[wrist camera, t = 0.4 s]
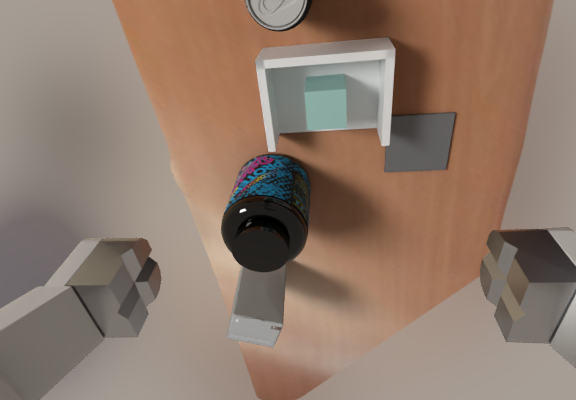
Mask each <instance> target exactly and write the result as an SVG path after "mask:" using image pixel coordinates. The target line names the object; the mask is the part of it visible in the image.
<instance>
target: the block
mask: <svg viewBox="0 0 576 400" xmlns="http://www.w3.org/2000/svg"><path fill="white" fill-rule="evenodd" d="M304 94H305V107H306V120H307V130H321V129H338V128H347V110H346V83H345V76H344V74H335V75H322V76H309V77H306V84H305V91H304Z"/></svg>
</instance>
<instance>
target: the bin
mask: <svg viewBox="0 0 576 400" xmlns="http://www.w3.org/2000/svg"><path fill="white" fill-rule="evenodd" d="M395 51H396V49H395V47H394V46H393V44H392V42H391V41H390V39H389V38H388V37H383V38H372V39H360V40H349V41H337V42H326V43H314V44H303V45H292V46H280V47H269V48H262V49H261V51H260V53H259V55H258V56H257V58H256V60H255V63H256V70H257V77H258V84H259V90H260V97H261V104H262V111H263V118H264V124H265V131H266V138H267V145H268V152H274V151H276V148H277V144H278V139H279V135H280V133H296V132H313V131H330V130H348V129H365V128H377V131H378V135H379V138H380V142H381V146H389V144H390V128H391V113H392V97H393V82H394V66H395ZM335 74H344V76H345V83H346V110H347V128H338V129H321V130H307V120H306V107H305V94H304V91H305V84H306V77H309V76H322V75H335Z"/></svg>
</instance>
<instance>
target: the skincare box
mask: <svg viewBox="0 0 576 400" xmlns="http://www.w3.org/2000/svg"><path fill="white" fill-rule="evenodd" d="M286 268H287V263H286V264H285V265H284V266H283V267H281V268H280V269H278V270H275V271H272V272H255V271H252V270H249V269H247V268H245V267H243V266H241V270H240V274H239V279H238V283H237V288H236V293H235V298H234V302H233V307H232V312H231V316H230V321H229V327H228V332H227V339H232V340H238V341H243V342H248V343H253V344H258V345H263V346H268V347H272V348H273V347H274V345H275V343H276V340H277V338H278V336H279V334H280V331H281V329H282V326H283V315H284V299H285V283H286Z"/></svg>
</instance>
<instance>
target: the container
mask: <svg viewBox="0 0 576 400" xmlns="http://www.w3.org/2000/svg"><path fill="white" fill-rule="evenodd" d="M309 205H310V180H309V177H308V175H307V173H306V172H305V170H304V169H303V168H302V167H301V166H300V165H299V164H298V163H297V162H295V161H294V160H292V159H290V158H288V157H286V156H283V155H278V154H265V155H260V156H257V157H255V158H253V159H251V160H249V161H248V162H247V163H246V164H245V165H244V166H243V167H242V168H241V170H240V172H239V174H238V177H237V180H236V182H235V185H234V188H233V191H232V193H231V196H230V199H229V202H228V205H227V207H226V210H225V213H224V216H223V219H222V225H221V234H222V238H223V240H224V243H225V244H226V246H227V248H228V249H229V250H230V252H231V253H232V254H233V256H234V258H235V260H236V261H237V262H238V263H239V264H240V265H242V266H243V267H245V268H247V269H249V270H252V271H255V272H272V271H275V270H278V269H280V268H281V267H283V266H284V265H285V264H286V263H288V262H290V261H292V260H293V259H295V258H296V257H297V256H298V255H299V254H300V253H301V252H302V250H303V248H304V246H305V244H306V240H307V236H308V223H309Z"/></svg>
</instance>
